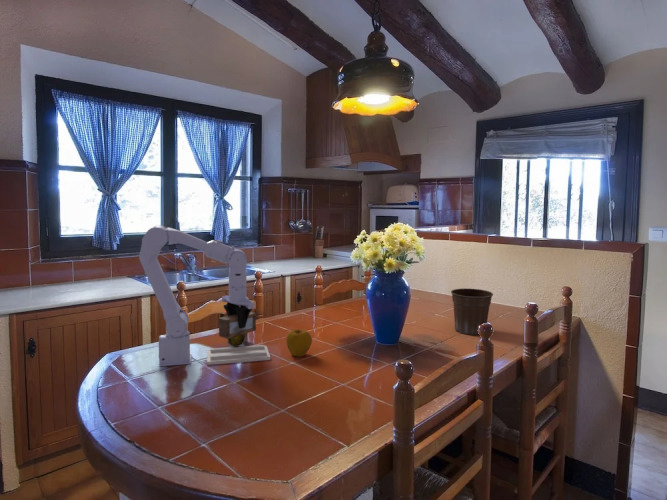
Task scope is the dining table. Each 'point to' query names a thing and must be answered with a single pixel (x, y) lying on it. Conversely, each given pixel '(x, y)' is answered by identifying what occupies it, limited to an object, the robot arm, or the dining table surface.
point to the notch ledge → (237, 354)
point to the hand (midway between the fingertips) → (238, 326)
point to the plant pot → (470, 309)
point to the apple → (298, 342)
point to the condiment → (238, 340)
